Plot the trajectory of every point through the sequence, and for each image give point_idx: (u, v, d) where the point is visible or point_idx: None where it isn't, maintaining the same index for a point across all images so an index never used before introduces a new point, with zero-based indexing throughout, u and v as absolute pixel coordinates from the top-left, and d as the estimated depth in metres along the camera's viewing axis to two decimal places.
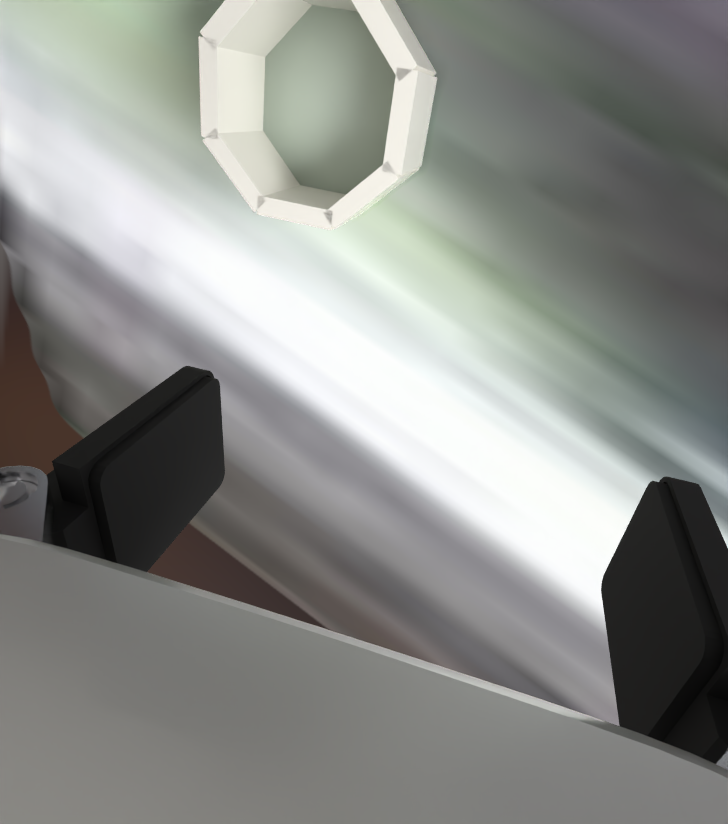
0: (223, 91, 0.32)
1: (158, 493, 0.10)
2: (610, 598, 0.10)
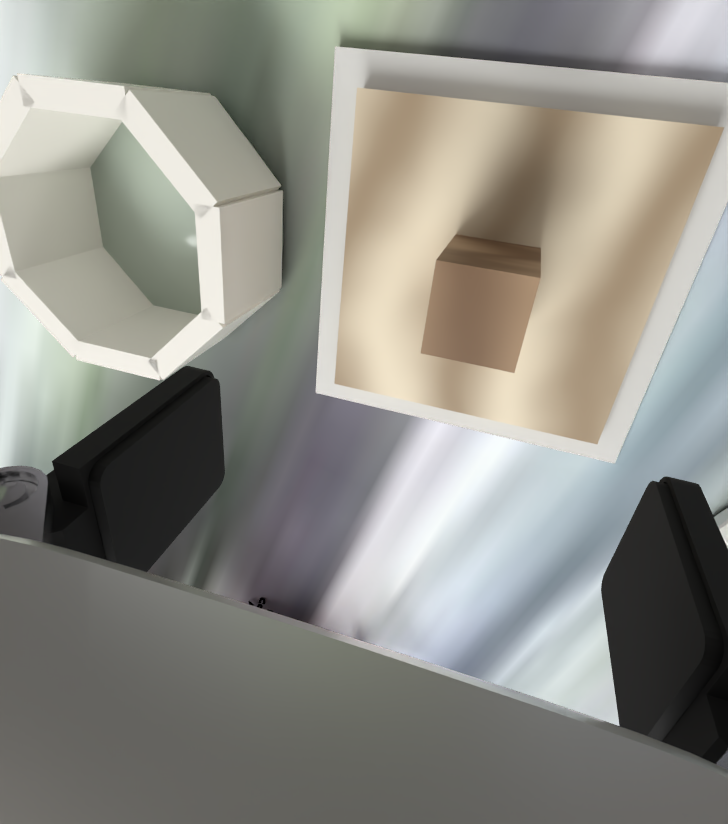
0: None
1: (158, 493, 0.10)
2: (610, 598, 0.10)
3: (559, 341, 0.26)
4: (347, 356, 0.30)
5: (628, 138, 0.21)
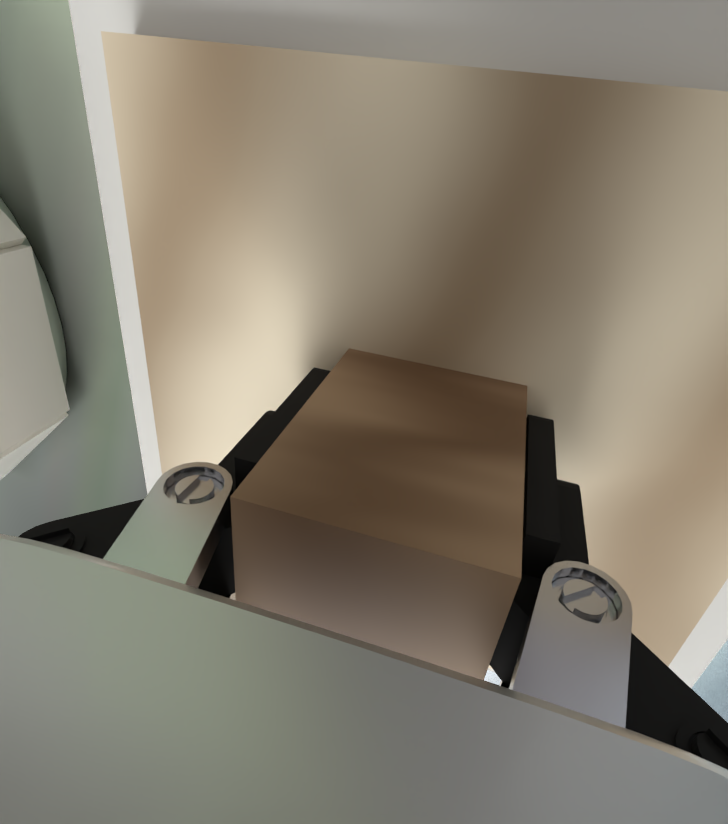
0: None
1: None
2: None
3: None
4: None
5: None
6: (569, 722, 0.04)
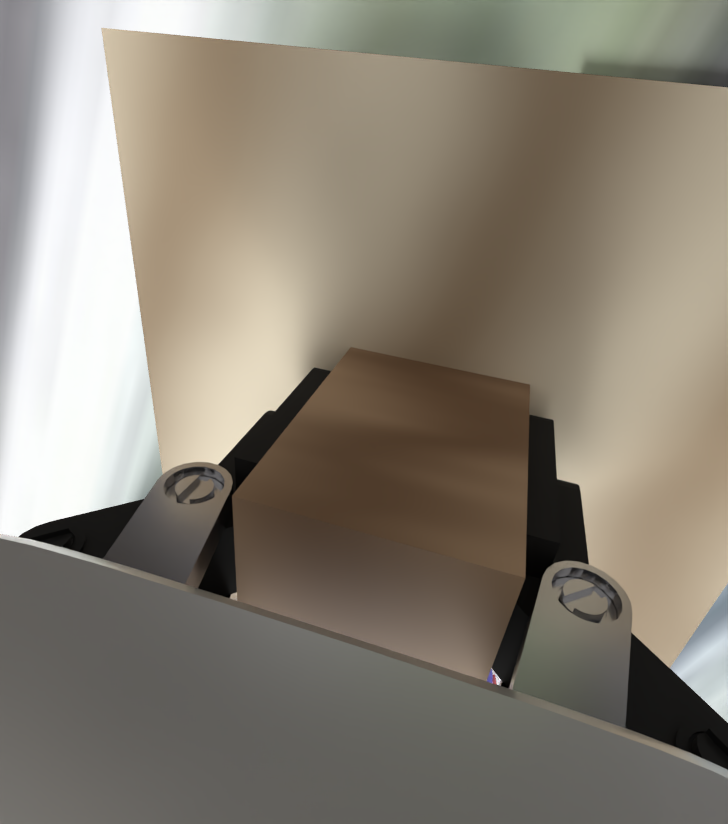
0: None
1: None
2: None
3: None
4: None
5: None
6: (569, 722, 0.04)
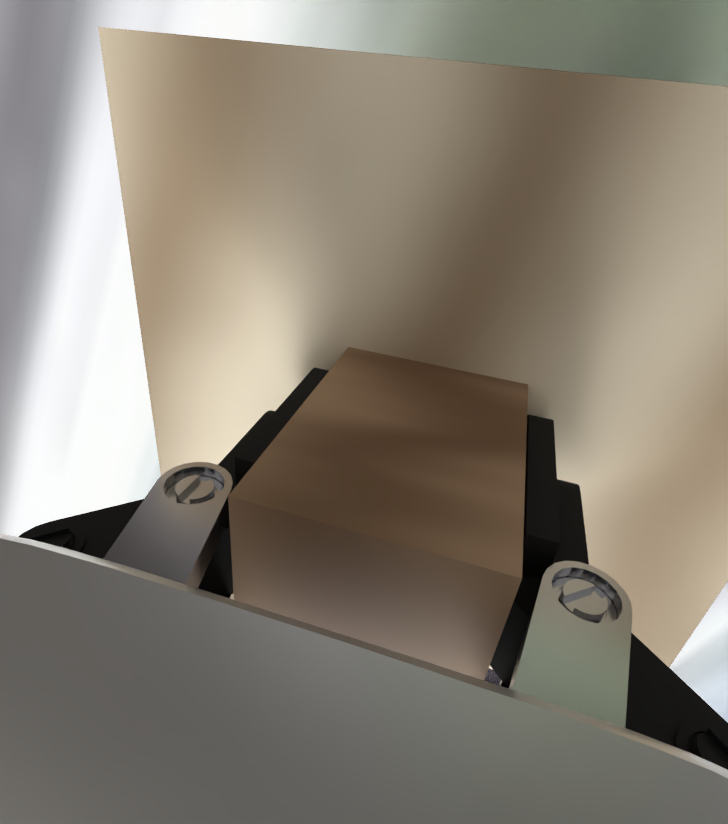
0: None
1: None
2: None
3: None
4: None
5: None
6: (569, 722, 0.04)
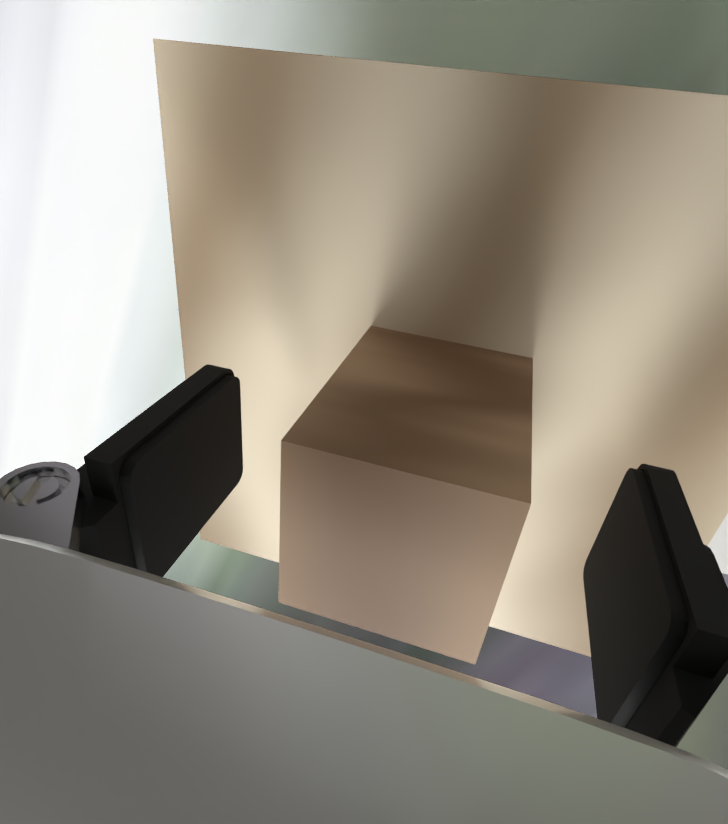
0: None
1: (182, 489, 0.10)
2: (590, 583, 0.11)
3: (567, 514, 0.14)
4: None
5: (727, 145, 0.09)
6: (569, 722, 0.04)
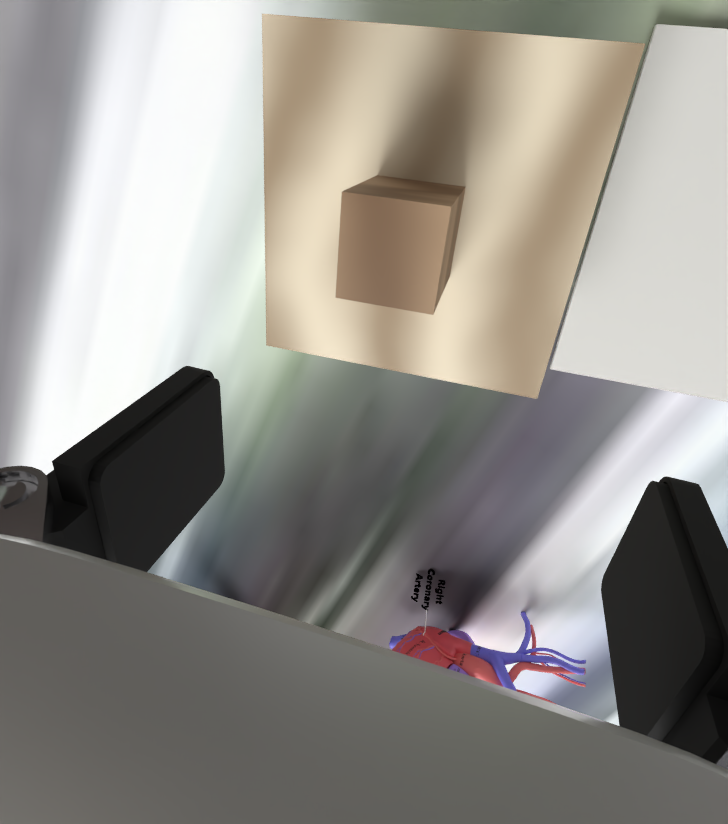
0: None
1: (158, 493, 0.10)
2: (610, 598, 0.10)
3: (491, 288, 0.24)
4: (277, 315, 0.28)
5: (547, 60, 0.20)
6: (569, 722, 0.04)
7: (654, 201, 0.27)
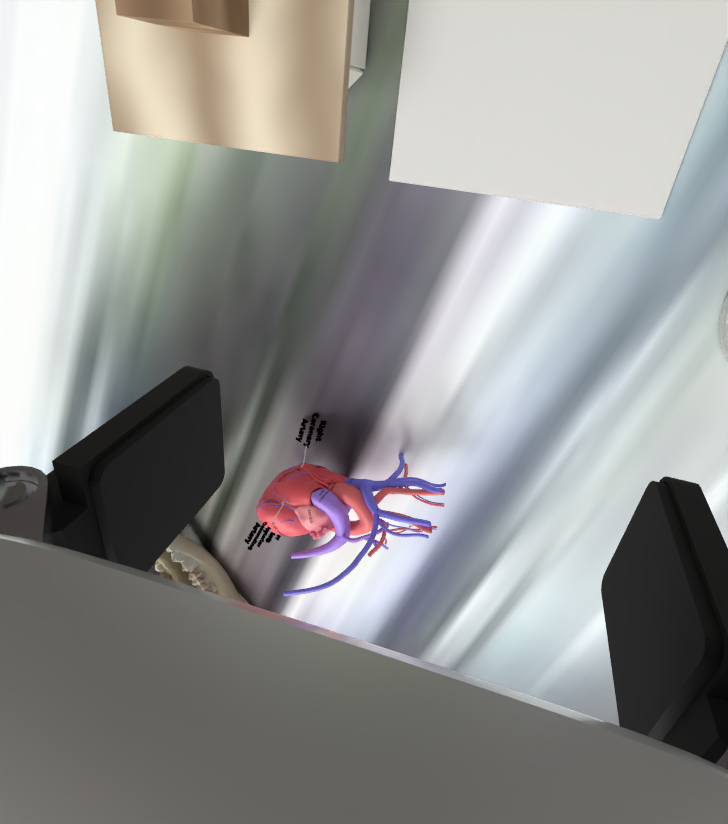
0: None
1: (158, 493, 0.10)
2: (610, 598, 0.10)
3: (284, 46, 0.28)
4: (118, 96, 0.32)
5: None
6: (569, 722, 0.04)
7: None
